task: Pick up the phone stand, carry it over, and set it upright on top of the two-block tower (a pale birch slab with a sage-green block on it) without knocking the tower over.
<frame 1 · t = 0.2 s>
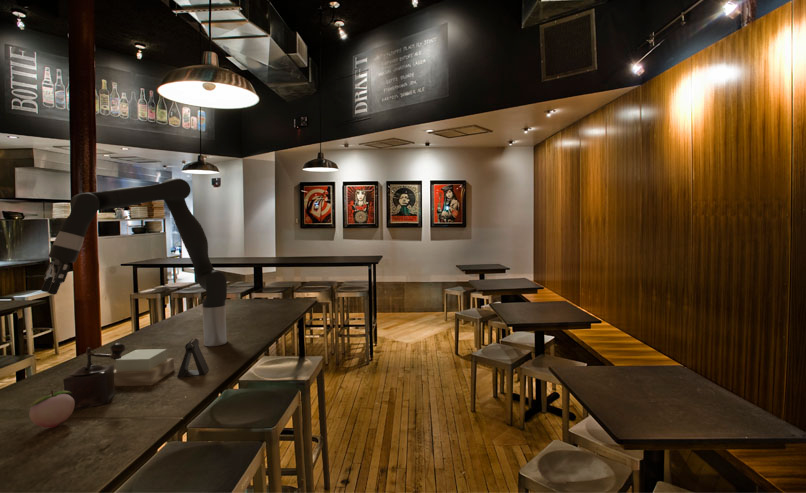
hand: (48, 292, 137), 31 cm above the table, tool tilted 20°, fingers open, 8 cm apart
manual coffee grinder: (101, 400, 125), on the table
phone stand: (193, 374, 147), on the table
tower top: (142, 365, 143), point 4 cm above the table, touching tower base
decorative fruit: (55, 428, 108), on the table
tower base: (143, 379, 143), on the table, touching tower top
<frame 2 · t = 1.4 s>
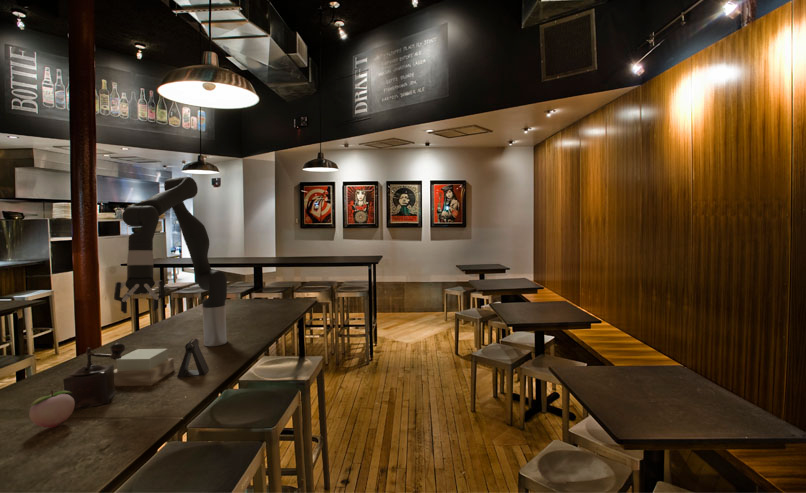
hand: (139, 312, 138), 24 cm above the table, tool pointing down, fingers open, 8 cm apart
nothing on the table moved.
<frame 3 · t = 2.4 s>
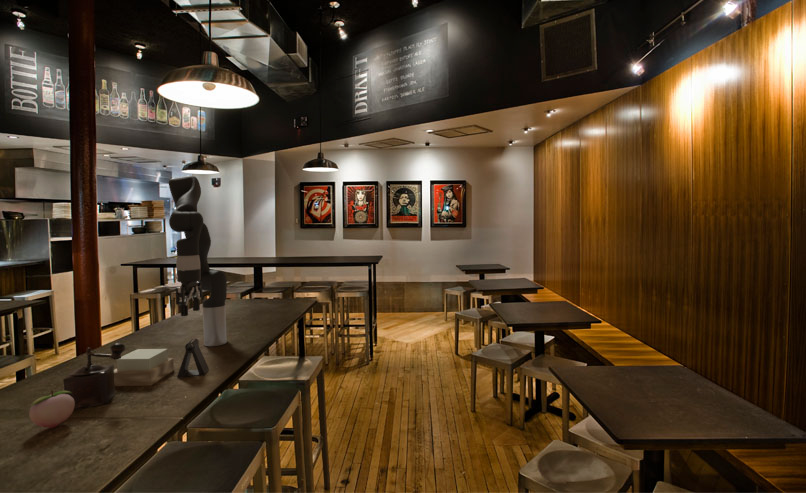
hand: (190, 313, 145), 22 cm above the table, tool pointing down, fingers open, 8 cm apart
nothing on the table moved.
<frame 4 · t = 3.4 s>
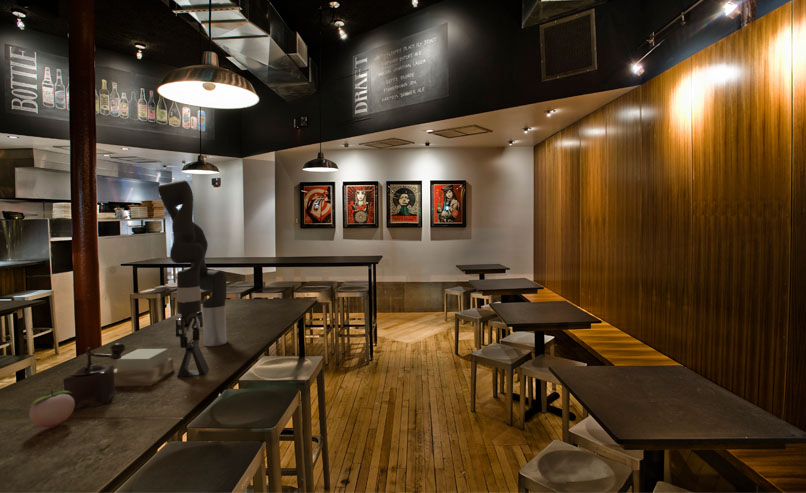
hand: (190, 344, 146), 11 cm above the table, tool pointing down, fingers open, 8 cm apart
tower top: (143, 364, 143), point 5 cm above the table
tower base: (142, 379, 143), on the table
everything else where it was.
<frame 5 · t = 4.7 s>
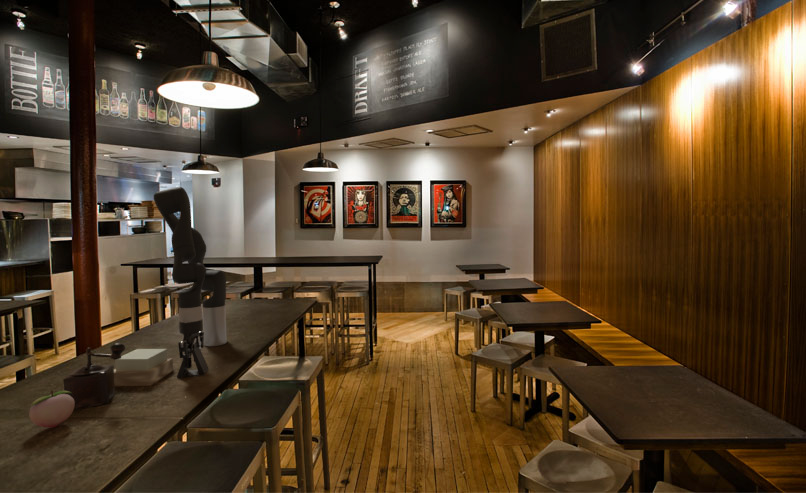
hand: (192, 364, 146), 3 cm above the table, tool pointing down, fingers closed on phone stand, 6 cm apart
phone stand: (193, 373, 147), on the table, touching gripper
tower top: (142, 364, 143), point 5 cm above the table, touching tower base
tower base: (142, 379, 143), on the table, touching tower top
everything else where it was.
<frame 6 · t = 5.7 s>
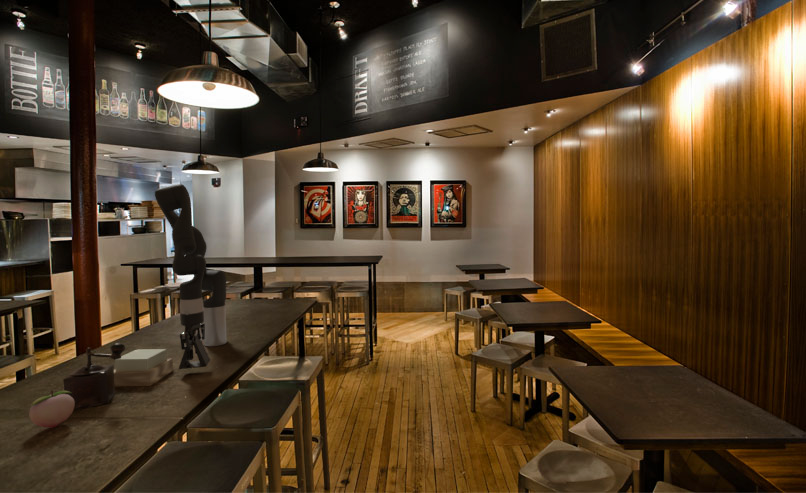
hand: (194, 356, 147), 6 cm above the table, tool pointing down, fingers closed on phone stand, 6 cm apart
phone stand: (194, 365, 147), point 3 cm above the table, touching gripper
everything else where it was.
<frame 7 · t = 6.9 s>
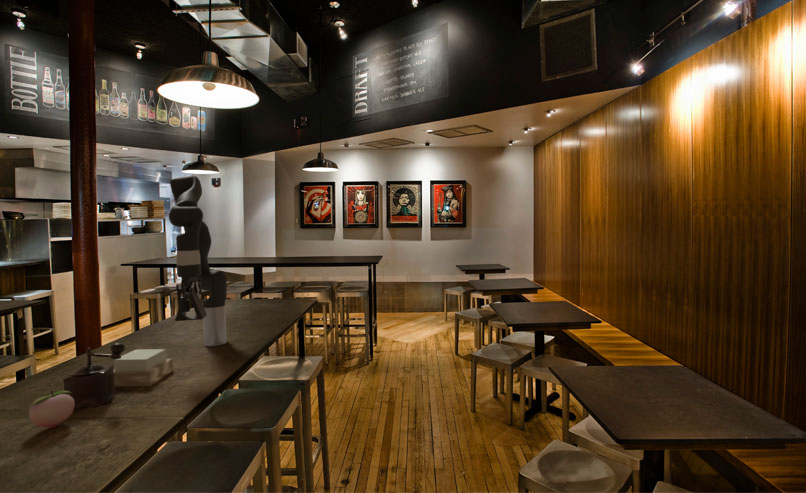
hand: (190, 309, 145), 23 cm above the table, tool pointing down, fingers closed on phone stand, 6 cm apart
phone stand: (191, 318, 146), point 20 cm above the table, touching gripper
everything else where it was.
when the fingers open (14 cm above the table, at t = 10.1 s): phone stand drops 2 cm, resting on tower top.
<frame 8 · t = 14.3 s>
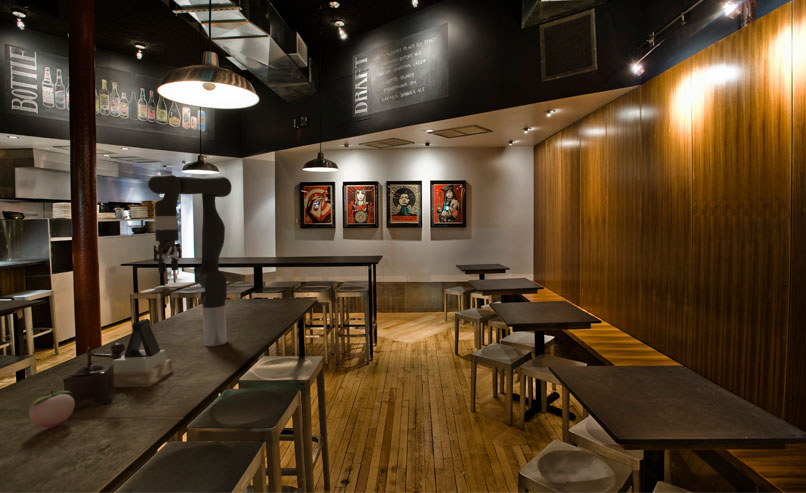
hand: (168, 271, 153), 36 cm above the table, tool pointing down, fingers open, 8 cm apart
phone stand: (142, 354, 142), point 8 cm above the table, touching tower top
tower top: (140, 366, 142), point 4 cm above the table, touching phone stand, tower base
everything else where it was.
at the end: phone stand inside the target area on the tower top (0.7 cm from its centre), point 3.8 cm above the tower top's base; tower top 0.3 cm off-centre on the tower base, point 5.0 cm above the tower base's base; phone stand tilted 1° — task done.
